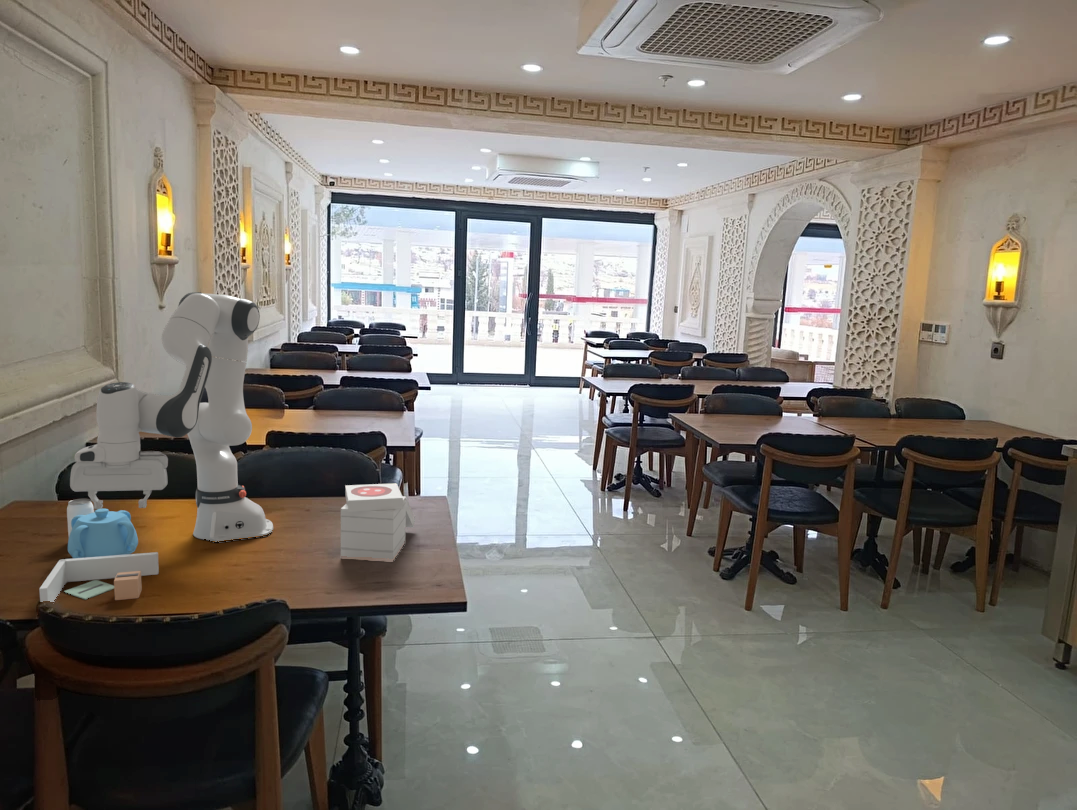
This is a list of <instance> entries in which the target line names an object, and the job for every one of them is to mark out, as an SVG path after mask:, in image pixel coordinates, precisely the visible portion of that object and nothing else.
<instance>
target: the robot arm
mask: <svg viewBox="0 0 1077 810" xmlns="http://www.w3.org/2000/svg"><path fill="white" fill-rule="evenodd" d="M260 317H261V315H260V309H259V307H258V306H257V304H256V303H255V302H254V301H251V300H249V299H247V298H239V297H236V296H231V295H227V294H221V293H220V294H217V293H215V294H214V293H202V292H199V291H198V292H197V291H195V292H194V291H193V292H188V293H186V294H185V295H184V296H182V297H181V299H180V301H179V302H178V305H177V308H176V309H175V310H174V312H173V313H172V315H171V317H170V318H169V320H168V321H167V323H166V324H165V327H164V328H163V330H162V334H161V339H160V340H161V344H162V346H163V348H164V350H165V352H166V353H167V354H168V356H170V357H171V358H172V359H174V360H175V361H177V362H179V363H180V364H182V365H184V366H185V370H184V373H183V377H182V378H181V382H180V385H179V389H178V391H177V392H175V393H174V394H171V395H169V394H167V395H166V394H156V393H149V392H145V391H142V390H141V389H138V388H137V386H136V384H135V383H133V382H127V381H125V382H124V381H119V382H112V383H108V384H105V385H104V386H102V387H101V388H100V389H99V391H98V395H97V400H96V424H97V426H98V436H97V439H96V444H93V445H92V444H91V445H90V446H86V447H82V448H81V449H79V450H78V451H77V452H76V453H75V454H74V461H75V463H74V464H73V465H72V466H71V469H70V475H69V476H70V478H69V486H70V489H71V490H72V491H74V493H75V492H77V493H78V492H87V496H88V497H89V499H90V500H91V502H92V503H93V507H94V510H97V509H104V508H103V507H104V504H103V503H104V500H103V499H102V500H101V499H99V498H98V497H97V493H98V492H117V491H119V492H120V491H121V492H122V491H124V492H125V491H126V492H127V491H143V493H142V494H143V495H145V496H144V498H141V499H139V500H138V501H137V502H138V508H139V509H146V508H147V505H148V503H147V502H148V501H147V500H148V499H149V497H150V495H151V494H152V492H153V491H162V490H164V489H165V488H166V487H167V485H168V481H169V480H168V472H167V468H168V466H169V458H168V456H167V455H166V454H165V453H163V452H161V451H159V450H158V451H149V450H147V451H143V450H141V435H140V432H142V433H148V434H158V435H164V436H168V437H172V438H175V439H176V438H177V439H178V438H182V437H185V436H186V435H187V437H188V439H189V442H190V445H191V449H192V451H193V455H194V459H195V464H196V479H197V480H196V481H197V482H196V483H197V487H196V490H195V504H196V507H197V510H196V511H197V512H196V519H195V520H196V521H195V525H194V529H193V533H192V535H193V536H194V537H195V538H196V539H199V540H204V539H206V541H209V540H210V542H211V541H215V542H217V541H218V542H219V541H224V540H231V539H232V540H233V539H239V538H248V537H255V536H263V535H267V534H269V533H271V532H272V533H273V531H274V524H273V522H272V521H271V520H270V519H267V518H266V514H265V512H264V509H263V508H262V506H260V504H258V503H256V502H254V501H252V500H251V499H249V498H248V497H246V496H247V491H246V487H245V486H244V485H241V484H239V483H238V480H239V479H238V461H237V458H236V457H235V455H234V454H233V453H232V450H231V448H230V446H239V445H242V444H244V443H246V441H247V440H249V438H250V436H251V435H252V431H253V424H252V419H250V417H249V415H248V414H247V411H246V406H245V400H244V383H245V382H244V380H245V374H246V369H247V368H246V367H247V361H248V351H249V349H248V348H249V337H250V336H251V335H253V334H254V333H255V332H256V330H257V329H258V326H259V324H260V320H261V319H260ZM205 390H206V394H207V395H206V396H207V399H208V402H201V401H202V398H203V394H204V391H205ZM272 530H273V531H272ZM272 533H271V534H272ZM269 535H270V534H269ZM263 537H264V536H263ZM248 539H249V538H248ZM233 541H234V540H233ZM219 543H220V542H219Z"/></svg>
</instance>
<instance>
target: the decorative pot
mask: <svg viewBox="0 0 1077 810" xmlns="http://www.w3.org/2000/svg"><path fill="white" fill-rule="evenodd" d="M131 520H132V516H131V513H130V512H129V511H128V510H125V509H124V510H122V509H120V510H118V511H112V510H111V511H110V510H109V509H108V508H102V509H94V513H90V514H87V515H77V516H75V517H74V518H73V519H72V521H71V526H72V531H71V533H70V536H69V535H68V541H67V552H68V554H69V555H70V556H71V557H72V559H73V558H87V557H100V556H113V555H126V554H133V553H134V552H135V551H136V549H137V547H138V545H139V538H138V534H137V530H136V529H135V527H134V524H133V523H132V521H131Z"/></svg>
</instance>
